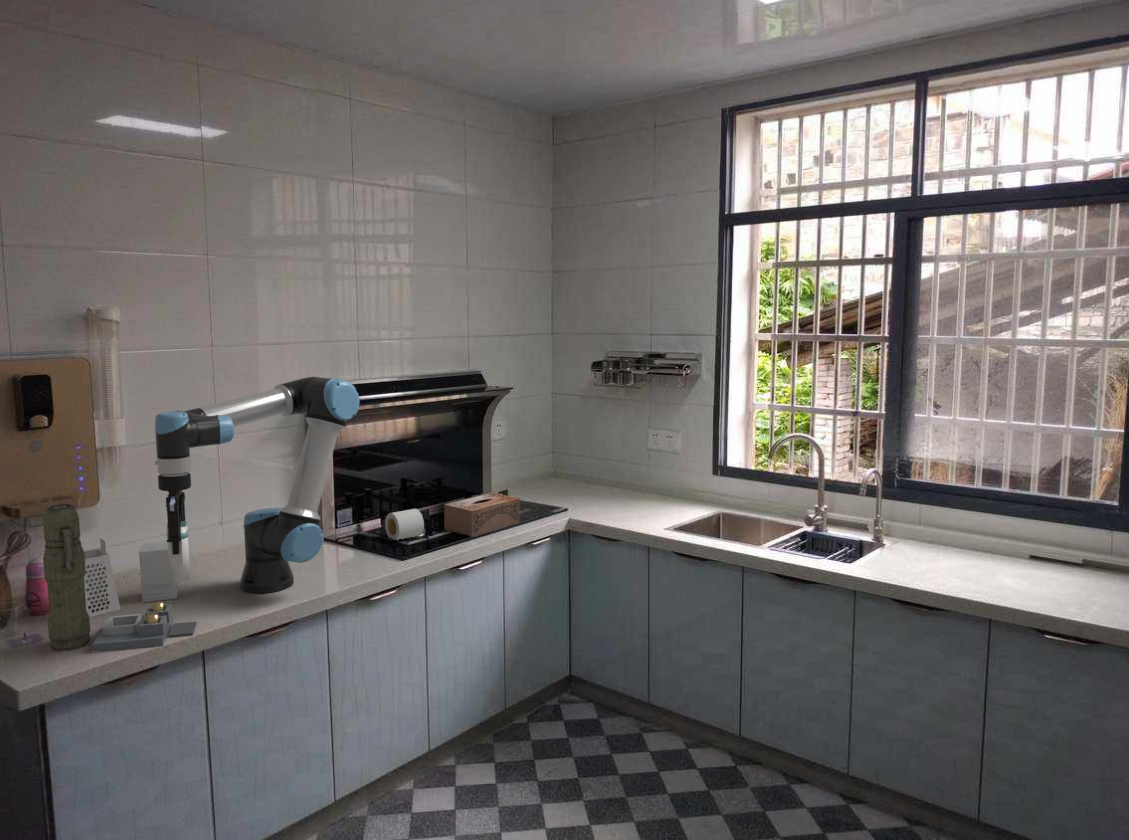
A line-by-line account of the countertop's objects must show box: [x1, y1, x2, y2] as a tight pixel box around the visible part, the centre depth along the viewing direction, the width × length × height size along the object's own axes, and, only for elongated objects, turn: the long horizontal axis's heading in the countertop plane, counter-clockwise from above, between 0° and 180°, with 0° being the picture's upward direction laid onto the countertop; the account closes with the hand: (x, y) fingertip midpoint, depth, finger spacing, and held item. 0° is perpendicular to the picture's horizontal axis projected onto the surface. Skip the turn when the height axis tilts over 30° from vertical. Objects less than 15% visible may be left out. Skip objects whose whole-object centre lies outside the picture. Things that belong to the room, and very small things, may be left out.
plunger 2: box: [146, 613, 159, 624], centre depth 212 cm, size 3×3×4 cm
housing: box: [91, 603, 174, 652], centre depth 215 cm, size 16×16×5 cm
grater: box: [80, 535, 121, 618], centre depth 231 cm, size 10×10×20 cm
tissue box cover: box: [443, 492, 520, 538], centre depth 321 cm, size 26×14×10 cm, turn 141°
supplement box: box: [138, 541, 179, 603], centre depth 243 cm, size 9×9×15 cm
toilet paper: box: [384, 508, 425, 541], centre depth 304 cm, size 10×10×10 cm
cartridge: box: [166, 521, 191, 584], centre depth 216 cm, size 5×5×15 cm
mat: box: [168, 621, 198, 638], centre depth 219 cm, size 6×8×1 cm
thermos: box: [42, 503, 91, 652], centre depth 207 cm, size 9×12×35 cm
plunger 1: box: [151, 600, 165, 611], centre depth 220 cm, size 3×3×4 cm
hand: (178, 562), depth 216 cm, fingers closed on cartridge, 5 cm apart
